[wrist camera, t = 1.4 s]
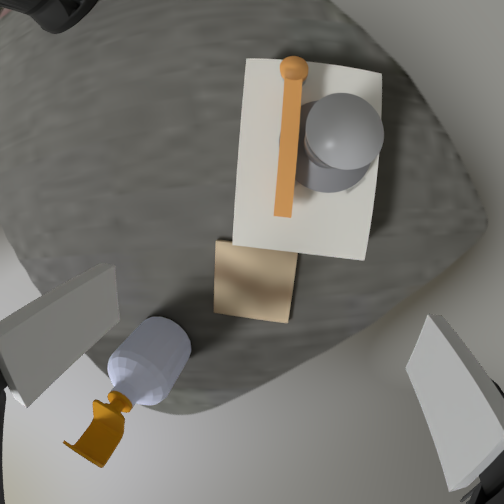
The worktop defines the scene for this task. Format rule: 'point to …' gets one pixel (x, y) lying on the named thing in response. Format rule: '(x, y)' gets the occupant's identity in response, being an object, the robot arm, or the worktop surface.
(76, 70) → the worktop surface
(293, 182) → the clip
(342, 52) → the worktop surface
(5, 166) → the worktop surface
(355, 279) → the worktop surface
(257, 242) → the socket block
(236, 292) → the cork mat
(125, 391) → the soap bottle
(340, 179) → the plug
